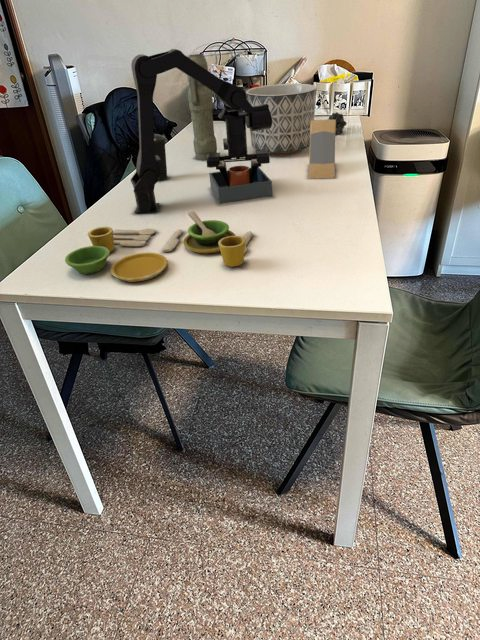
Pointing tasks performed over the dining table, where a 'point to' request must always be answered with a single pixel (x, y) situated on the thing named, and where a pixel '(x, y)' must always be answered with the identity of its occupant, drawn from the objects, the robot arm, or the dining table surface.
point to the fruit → (338, 122)
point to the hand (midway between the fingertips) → (239, 186)
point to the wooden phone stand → (322, 149)
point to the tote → (240, 188)
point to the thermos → (201, 113)
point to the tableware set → (149, 265)
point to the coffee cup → (239, 175)
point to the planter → (284, 117)
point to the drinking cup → (161, 154)
